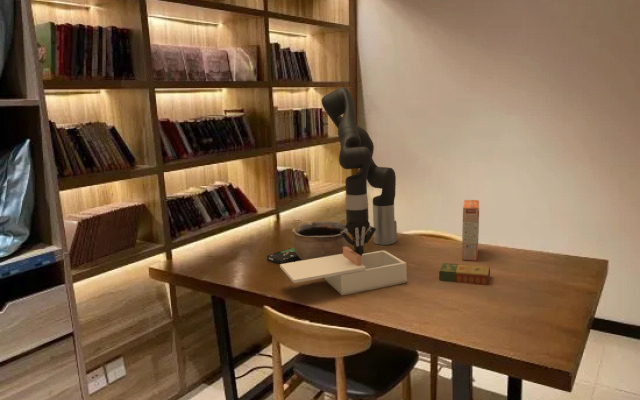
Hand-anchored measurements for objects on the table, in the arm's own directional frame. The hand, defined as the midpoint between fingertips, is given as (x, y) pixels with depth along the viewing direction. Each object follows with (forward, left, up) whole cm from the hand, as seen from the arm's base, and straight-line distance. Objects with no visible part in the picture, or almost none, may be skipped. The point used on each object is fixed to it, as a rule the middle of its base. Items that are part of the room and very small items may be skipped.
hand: (358, 255), depth 162 cm
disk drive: (+15, -37, -10) cm, 41 cm away
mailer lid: (+14, 0, -2) cm, 14 cm away
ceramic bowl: (+5, -23, -10) cm, 26 cm away
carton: (-33, +14, -10) cm, 37 cm away
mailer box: (-2, 0, -10) cm, 10 cm away
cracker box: (-50, -5, -10) cm, 51 cm away
